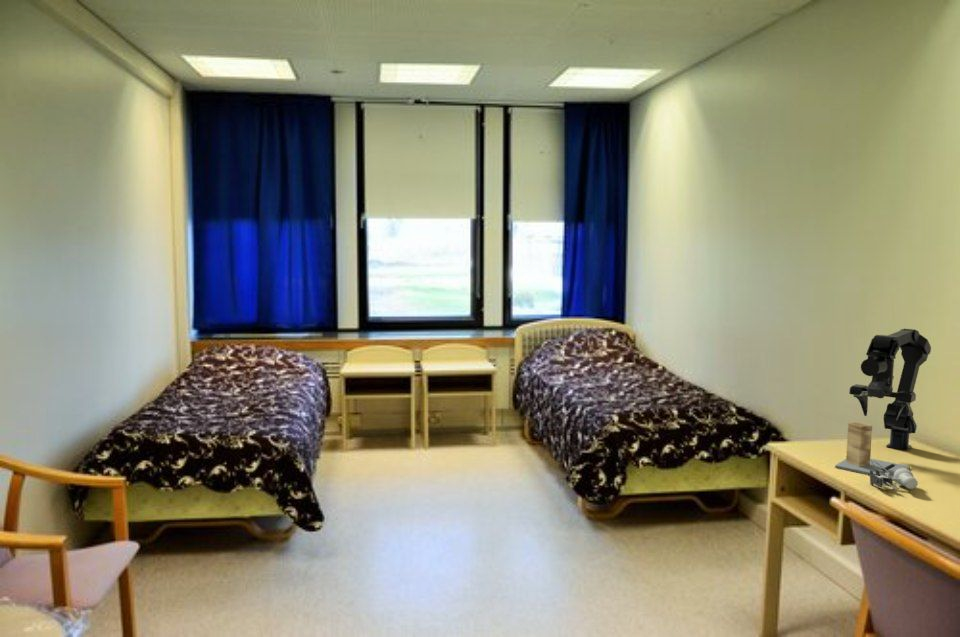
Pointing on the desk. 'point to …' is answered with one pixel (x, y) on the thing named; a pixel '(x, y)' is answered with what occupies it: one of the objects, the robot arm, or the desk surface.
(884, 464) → the slate mat
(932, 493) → the desk surface
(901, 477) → the clip-on lamp
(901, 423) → the robot arm
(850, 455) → the upright wooden block
